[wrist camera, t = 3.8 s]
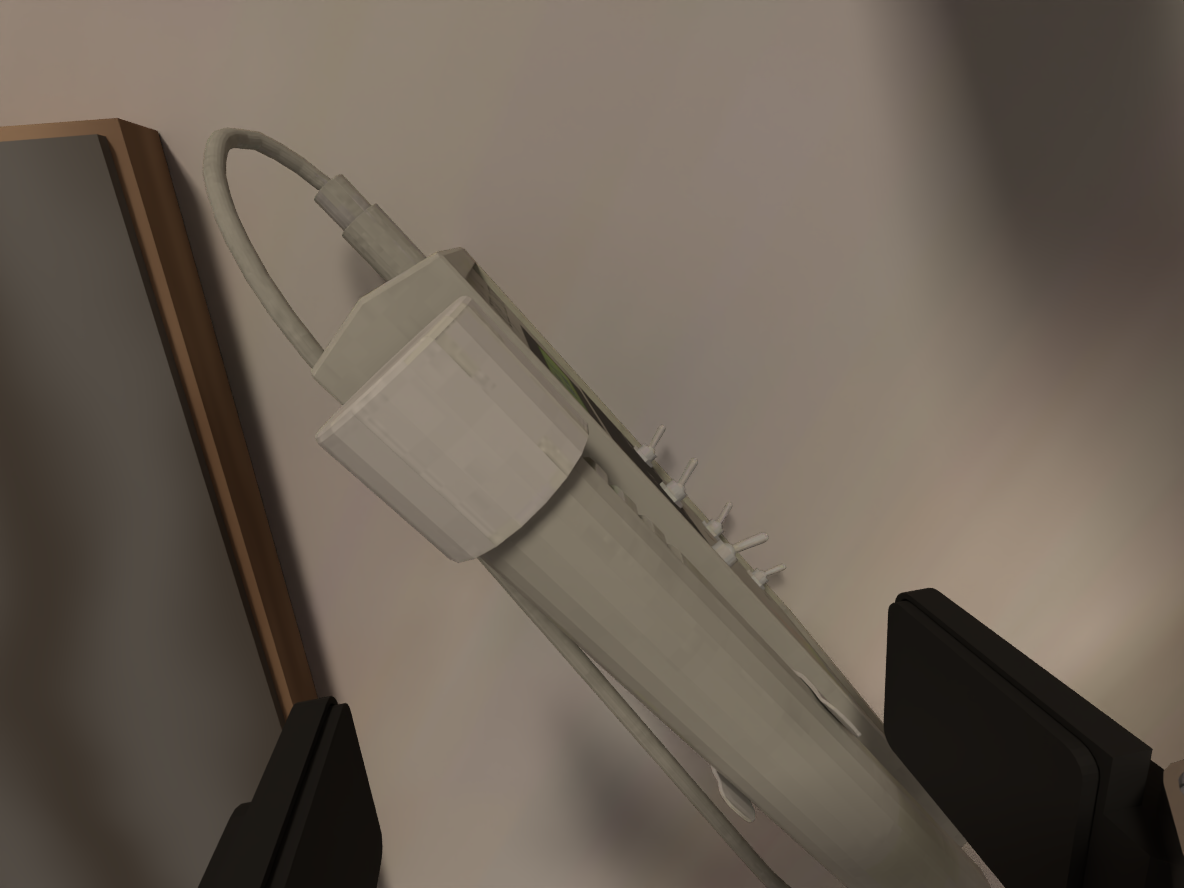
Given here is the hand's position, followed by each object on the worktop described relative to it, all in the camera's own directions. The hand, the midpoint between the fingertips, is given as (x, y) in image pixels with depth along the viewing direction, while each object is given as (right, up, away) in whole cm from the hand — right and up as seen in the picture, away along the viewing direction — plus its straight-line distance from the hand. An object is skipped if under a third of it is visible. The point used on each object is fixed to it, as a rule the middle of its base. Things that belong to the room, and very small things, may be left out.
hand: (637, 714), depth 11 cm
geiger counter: (-2, +5, +12) cm, 13 cm away
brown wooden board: (-18, -2, +12) cm, 22 cm away
